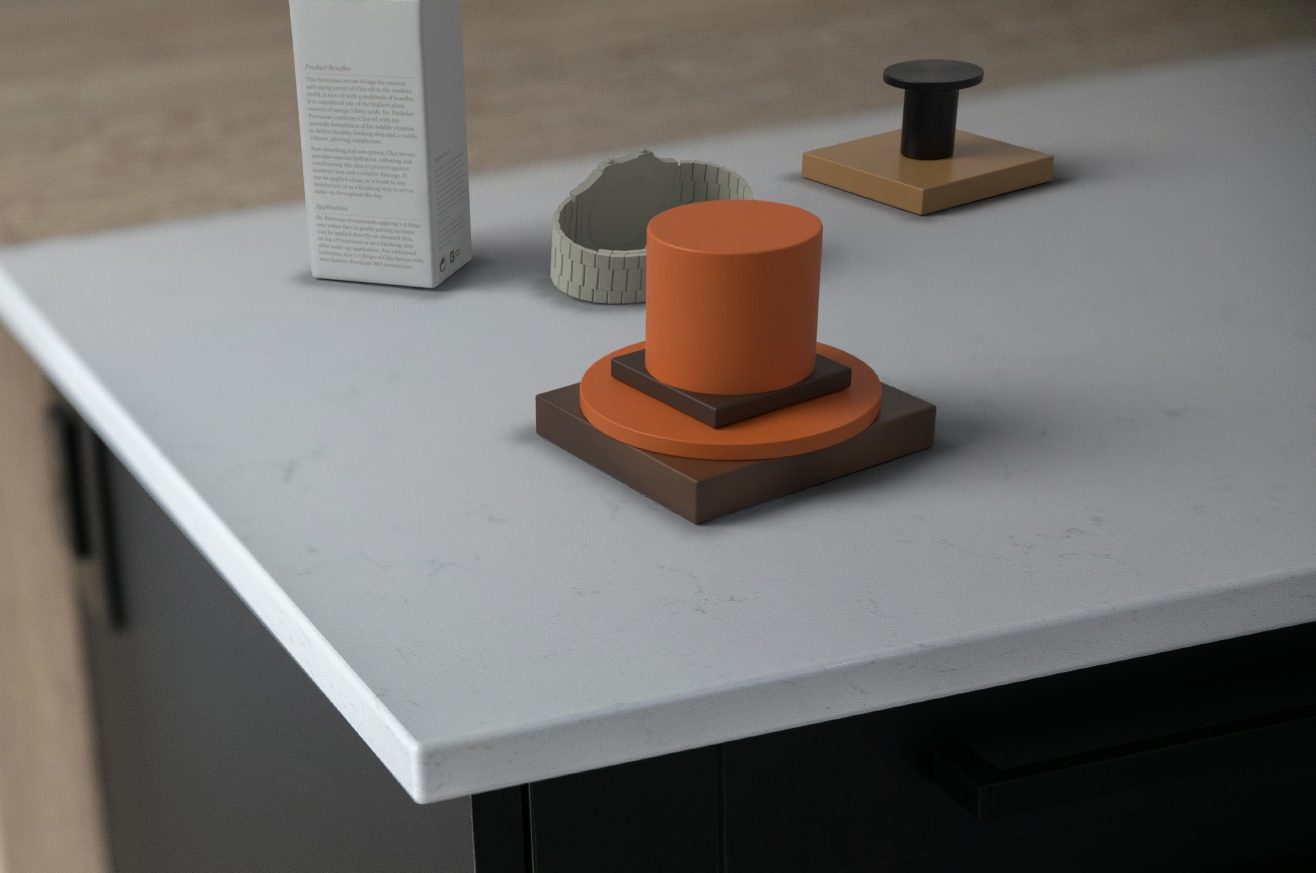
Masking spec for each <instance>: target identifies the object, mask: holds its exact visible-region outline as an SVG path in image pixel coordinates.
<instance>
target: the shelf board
mask: <svg viewBox="0 0 1316 873" xmlns="http://www.w3.org/2000/svg"><path fill="white" fill-rule="evenodd" d="M880 382H881V386H882V397H881V407H880V410H879V413H878V415H877V417H876V418H875V420H874V421H873V422H872V423H871V424H870V425H869V426H868V427H867V428H866V429H865V430H863V431H862V432H860V433H859V434H857V435H856V436H854V437H852V438H850V439H848V440H846V441H844V442H841V443H838V444H836V445H833V446H830V447H827V448H824V449H820V450H817V451H813V452H809V453H804V454H799V455H794V456H787V457H780V458H772V459H759V460H733V461H731V460H706V459H694V458H685V457H678V456H671V455H666V454H661V453H656V452H652V451H648V450H644V449H641V448H637V447H634V446H631V445H628V444H626V443H623V442H620V441H618V440H616V439H614V438H612V437H610V436H608V435H606V434H604V433H603V432H601V431H600V430H598V429H597V428H596V427H594V426H593V425H592V424H591V423H590V422H589V421H588V420H587V418H586V417H585V416H584V414H583V412H582V410H581V407H580V383H581V381H580V382H576V383H572V384H569V385H566V386H562V387H558V388H555V389H552V390H548V391H544V392H541V393H537V394H536V395H535V433H536V435H538V436H540V437H542V438H543V439H544V440H547V441H548V442H551V443H552V444H554V445H555V446H557V447H559V448H561V449H562V450H565V451H566V452H568V453H570V454H571V455H573V456H575V457H577V458H578V459H581V460H582V461H584V462H586V463H587V464H589V465H590V466H593V467H594V468H596V469H598V470H599V471H601V472H603V473H605V474H607V475H609V476H611V477H612V478H614V479H615V480H617V481H619V482H621V483H623V484H624V485H626V486H628V487H630V488H631V489H633V490H634V491H637V492H638V493H641V494H642V495H644V496H646V497H647V498H649V499H651V500H653V501H655V502H656V503H658V504H660V505H661V506H663V507H665V508H667V509H669V510H670V511H672V512H674V513H675V514H678V515H679V516H681V517H683V518H684V519H686V520H688V521H690V522H691V523H693V524H700V523H703V522H707V521H710V520H713V519H716V518H718V517H719V518H720V517H722V516H725V515H729V514H731V513H734V512H737V511H740V510H743V509H746V508H749V507H752V506H755V505H758V504H761V503H764V502H767V501H770V500H774V499H776V498H779V497H782V496H785V495H789V494H791V493H794V492H797V491H800V490H803V489H806V488H810V487H813V486H817V485H819V484H822V483H825V482H827V481H830V480H834V479H836V478H841V477H843V476H846V475H849V474H852V473H855V472H858V471H861V470H865V469H867V468H870V467H873V466H877V465H880V464H882V463H885V462H889V461H891V460H893V459H897V458H900V457H903V456H906V455H909V454H912V453H915V452H918V451H921V450H924V449H928V448H930V447H933V446H934V443H935V431H936V420H937V410H938V406H937V405H936V404H935V403H932V402H930V401H927V400H926V399H923V398H920V397H918V396H915V395H913V394H911V393H908V392H907V391H904V390H901V389H899V388H897V387H895V386H892V385H889V384H887V383H885V382H883V381H880Z"/></svg>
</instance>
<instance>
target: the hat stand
mask: <svg viewBox="0 0 1316 873" xmlns="http://www.w3.org/2000/svg"><path fill="white" fill-rule="evenodd" d="M984 77H985V71H984V68H983V67H981V66H980V65H977V64H975V63H971V62H969V61H968V62H967V61H962V60H955V59H938V58H937V59H936V58H931V59H929V58H928V59H927V58H926V59H914V60H906V61H902V62H897V63H894V64H890V65H889V66H886V67H885V68H884V70H883V74H882V80H883V82H884V83H885V84H886V85H888V86H890V87H893V88H896V89H901V90H904V93H903V94H904V95H903V106H902V119H901V120H902V121H901V128H897V129H894V130H889V131H885V132H881V133H877V134H873V135H868V136H865V137H861V138H856V139H853V140H849V141H848V140H847V141H845V142H840V143H836V144H832V145H827V146H824V147H820V148H815V149H810V150H807V151H804V152H802V158H801V160H802V162H801V177H802V178H805V179H808V180H811V181H814V182H817V183H821V184H822V185H823V184H824V185H826V186H829V187H833V188H835V189H838V190H842V191H845V192H849V193H851V194H853V195H854V194H855V195H858V196H861V197H864V198H867V199H870V200H873V201H875V202H879V203H882V204H885V205H888V206H891V207H894V208H898V209H900V210H904V211H906V212H910V213H912V214H916V215H918V216H924V215H928V214H931V213H936V212H939V211H943V210H947V209H951V208H954V207H958V206H962V205H965V204H969V203H972V202H973V203H974V202H977V201H980V200H984V199H988V198H991V197H995V196H998V195H1003V194H1006V193H1010V192H1014V191H1019V190H1021V189H1025V188H1030V187H1032V186H1037V185H1040V184H1044V183H1048V182H1051V181H1052V179H1053V174H1054V173H1053V172H1054V164H1055V155H1053V154H1049V153H1046V152H1044V151H1043V152H1042V151H1038V150H1035V149H1031V148H1027V147H1024V146H1020V145H1016V144H1013V143H1009V142H1005V141H1002V140H999V139H998V140H997V139H994V138H991V137H988V136H984V135H979V134H976V133H973V132H968V131H966V130H961V129H957V119H958V108H959V96H960V90H966V89H970V88H973V87H976V86H979V85H980V84H981V83H982V82H984Z"/></svg>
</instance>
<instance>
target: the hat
mask: <svg viewBox="0 0 1316 873" xmlns="http://www.w3.org/2000/svg"><path fill="white" fill-rule="evenodd" d="M823 235H824V225H823V223H822V220H821V219H820V218H819V216H817V215H815V213H813V212H811V211H809V210H807V209H805V208H801V207H798V206H794V205H790V204H787V203H781V202H775V201H769V200H759V199H753V200H715V201H705V202H698V203H692V204H687V205H683V206H679V207H675V208H672V209H669V210H667V211H664V212H662V213H660V214H658V215H657V216H655V217H654V218H653V219H651V221H650V222H649V224H648V226H647V244H646V248H647V251H646V301H645V334H644V336H645V340H643V341H639V342H636V343H633V344H629V345H626V346H624V347H621V348H619V349H617V350H616V349H615V350H614V351H612V352H610V353H608V354H606V355H604V356H602V357H601V358H599V359H598V360H597V361H595V362H594V363H593V364H591V366H589V367H588V369H586V370H585V372H584V374H583V375H582V377H581V380H580V382H581V383H580V407H581V410H582V412H583V414H584V416H585V417H586V418H587V420H588V421H589V422H590V423H591V424H592V425H593V426H594V427H596V428H597V429H598V430H600V431H601V432H603V433H604V434H606V435H608V436H610V437H612V438H614V439H616V440H618V441H620V442H623V443H626V444H628V445H631V446H634V447H637V448H641V449H644V450H648V451H652V452H656V453H661V454H666V455H671V456H678V457H685V458H694V459H706V460H731V461H733V460H759V459H772V458H780V457H787V456H794V455H799V454H804V453H809V452H813V451H817V450H820V449H824V448H827V447H830V446H833V445H836V444H838V443H841V442H844V441H846V440H848V439H850V438H852V437H854V436H856V435H857V434H859V433H860V432H862V431H863V430H865V429H866V428H867V427H868V426H869V425H870V424H871V423H872V422H873V421H874V420H875V418H876V417H877V415H878V413H879V410H880V407H881V397H882V386H881V382H882V381H881V379H880V378H879V376H878V374H877V373H876V371H875V370H874V369H873V368H872V367H871V366H870V365H869V364H867V363H866V362H865V361H863V360H862V359H860V358H859V357H857V356H856V355H854V354H852V353H849V352H847V351H845V350H843V349H840V348H838V347H835V346H832V345H830V344H827V343H823V342H820V341H817V339H818V325H819V324H818V323H819V305H820V290H821V289H820V286H821V269H822V253H823V239H824V238H823V237H824V236H823Z"/></svg>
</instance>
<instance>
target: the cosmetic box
mask: <svg viewBox="0 0 1316 873" xmlns="http://www.w3.org/2000/svg"><path fill="white" fill-rule="evenodd" d="M288 6H289V16H290V27H291V28H290V29H291V36H292V37H291V38H292V48H293V49H292V50H293V51H292V52H293V60H294V74H295V84H296V85H295V87H296V99H297V110H298V123H299V124H298V125H299V133H300V134H299V135H300V145H301V147H300V148H301V158H302V159H301V160H302V174H303V184H304V185H303V186H304V199H305V208H306V209H305V212H306V223H307V233H308V234H307V235H308V247H309V262H310V270H311V271H310V272H311V275H312V277H313V278H316V279H325V280H326V279H327V280H336V281H337V280H338V281H349V282H360V283H372V284H383V285H394V286H403V287H404V286H405V287H416V288H426V289H434V288H436V287H438V286H439V285H441V284H442V283H443V282H444V281H446V280H447V279H448V278H449V277H450V276H452V275H453V274H454V273H455V272H457V271H459V269H461V268H462V267H463V266H465V265H466V264H467V263H468V262H470V261H471V259H472V255H473V249H472V231H471V230H472V228H471V203H470V202H471V201H470V200H471V199H470V180H469V178H470V177H469V159H468V157H469V156H468V155H469V154H468V136H467V135H468V134H467V133H468V132H467V113H466V112H467V109H466V91H465V90H466V89H465V86H466V85H465V67H464V66H465V64H464V41H463V40H464V39H463V24H462V23H463V20H462V0H288Z"/></svg>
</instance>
